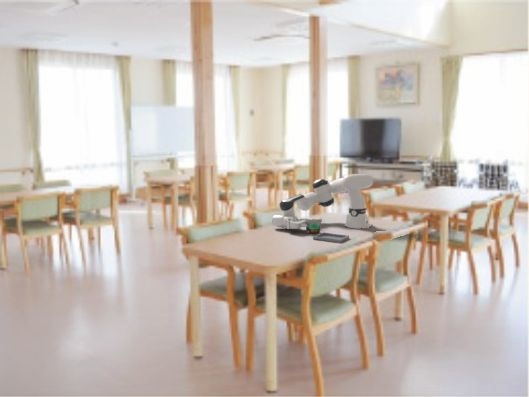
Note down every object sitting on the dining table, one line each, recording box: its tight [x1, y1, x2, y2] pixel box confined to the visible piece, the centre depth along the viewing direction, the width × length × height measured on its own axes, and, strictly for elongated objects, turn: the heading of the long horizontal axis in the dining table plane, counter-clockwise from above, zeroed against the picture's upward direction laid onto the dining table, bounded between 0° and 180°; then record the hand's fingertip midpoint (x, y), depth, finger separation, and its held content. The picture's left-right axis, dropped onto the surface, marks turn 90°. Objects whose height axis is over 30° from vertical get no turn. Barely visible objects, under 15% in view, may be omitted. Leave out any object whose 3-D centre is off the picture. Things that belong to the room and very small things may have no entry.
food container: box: [304, 218, 323, 235], centre depth 368 cm, size 12×6×10 cm, turn 105°
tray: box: [312, 232, 350, 244], centre depth 351 cm, size 15×19×2 cm
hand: (310, 224), depth 369 cm, fingers open, 8 cm apart
